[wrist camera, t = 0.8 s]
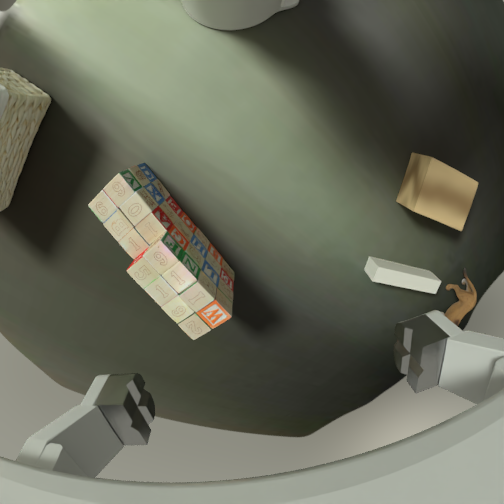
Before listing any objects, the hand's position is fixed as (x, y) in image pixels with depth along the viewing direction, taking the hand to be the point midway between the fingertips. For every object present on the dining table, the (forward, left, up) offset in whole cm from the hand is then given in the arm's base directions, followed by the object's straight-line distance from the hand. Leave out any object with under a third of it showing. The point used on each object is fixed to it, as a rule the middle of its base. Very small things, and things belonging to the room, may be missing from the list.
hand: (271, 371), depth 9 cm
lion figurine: (+13, +40, -36) cm, 56 cm away
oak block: (-6, +27, -36) cm, 45 cm away
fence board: (+8, +27, -36) cm, 45 cm away
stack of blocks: (+10, -10, -36) cm, 39 cm away
